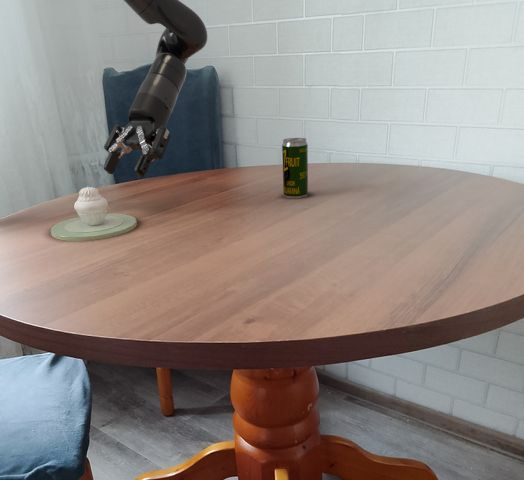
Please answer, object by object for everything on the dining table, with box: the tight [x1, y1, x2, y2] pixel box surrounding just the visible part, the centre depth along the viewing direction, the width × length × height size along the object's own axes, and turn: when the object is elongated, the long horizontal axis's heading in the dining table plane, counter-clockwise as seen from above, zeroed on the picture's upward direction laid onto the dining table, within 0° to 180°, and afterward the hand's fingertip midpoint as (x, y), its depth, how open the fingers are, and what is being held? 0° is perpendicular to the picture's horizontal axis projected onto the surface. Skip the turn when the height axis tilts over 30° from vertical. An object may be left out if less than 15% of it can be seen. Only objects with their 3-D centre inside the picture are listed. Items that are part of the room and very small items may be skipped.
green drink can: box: [281, 137, 309, 200], centre depth 116 cm, size 5×5×12 cm
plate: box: [50, 212, 138, 242], centre depth 104 cm, size 16×16×1 cm
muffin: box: [73, 186, 109, 226], centre depth 102 cm, size 6×6×7 cm
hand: (122, 173), depth 107 cm, fingers open, 8 cm apart
